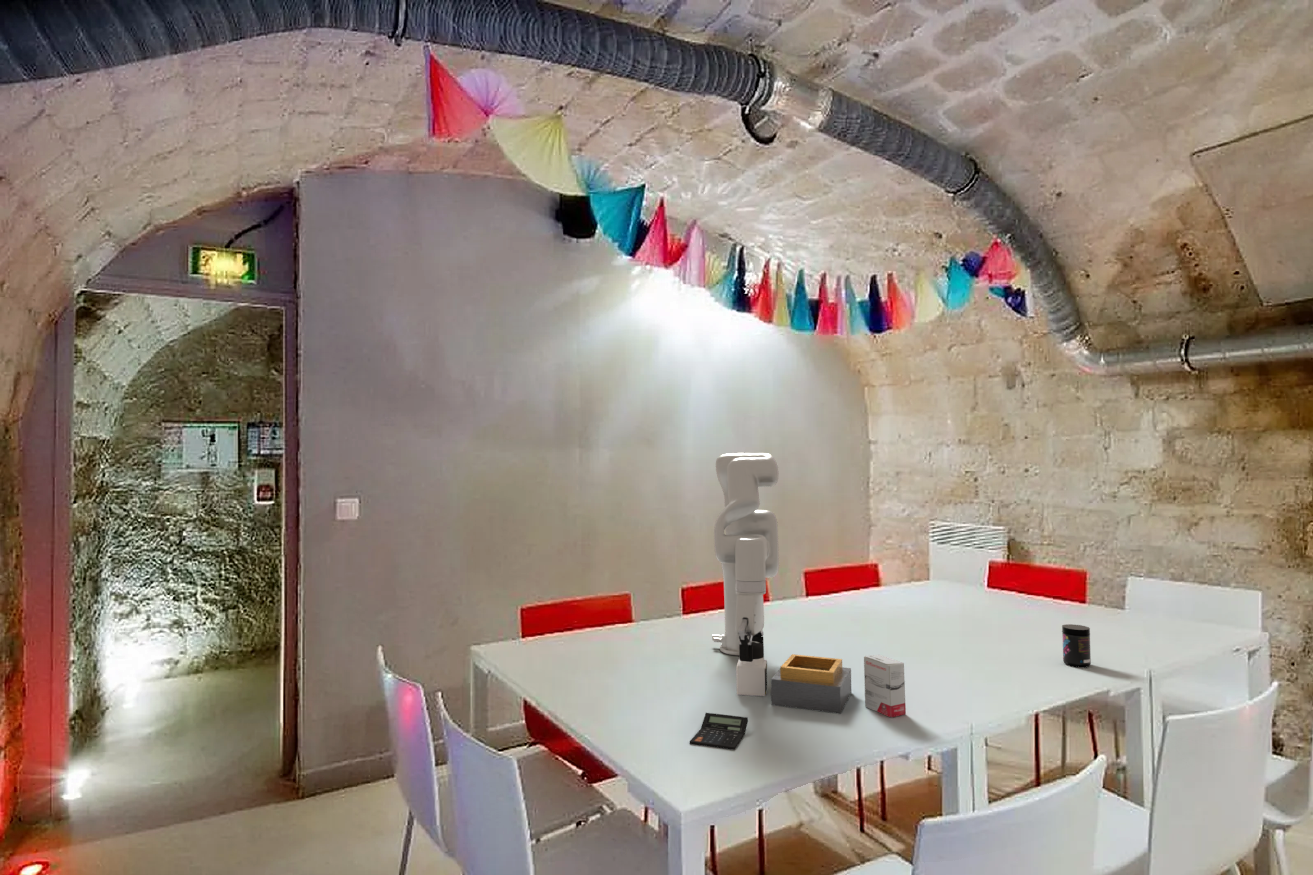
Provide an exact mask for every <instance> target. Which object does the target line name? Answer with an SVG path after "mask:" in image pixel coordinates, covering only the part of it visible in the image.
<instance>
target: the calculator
mask: <svg viewBox="0 0 1313 875" xmlns="http://www.w3.org/2000/svg"><path fill="white" fill-rule="evenodd" d="M748 722H749V717H745V716H739V715H738V716H737V715H730V714H719V713H713V712H705V714H704V716H703V720H702V724H701V727H700V729H698V731H697V732H696V733H695V734H694V736H693V737H692V738H691V739H690V740H689V744H690V745H694V746H695V745H696V746H700V747H701V746H702V747H709V748H717V749H724V750H730V751H731V750H732V751H735V750H736V749H737V748H738V746H739V744H740V743H741V741H742V740H743V738H744V736H745V734H746V731H747V727H748Z"/></svg>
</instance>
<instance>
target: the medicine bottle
mask: <svg viewBox="0 0 1313 875" xmlns="http://www.w3.org/2000/svg"><path fill="white" fill-rule="evenodd" d="M763 644H764V643H763ZM763 644H761V643H759V642H754V641H752V642H751V645H753V661H752V662H747V661H740V658H738V661H737V663H736V669H735V670H736V677H735V678H736V695H738V696H752V697H754V696H755V697H766V696H767V691H768V661H767V659H765V646H763Z"/></svg>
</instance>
